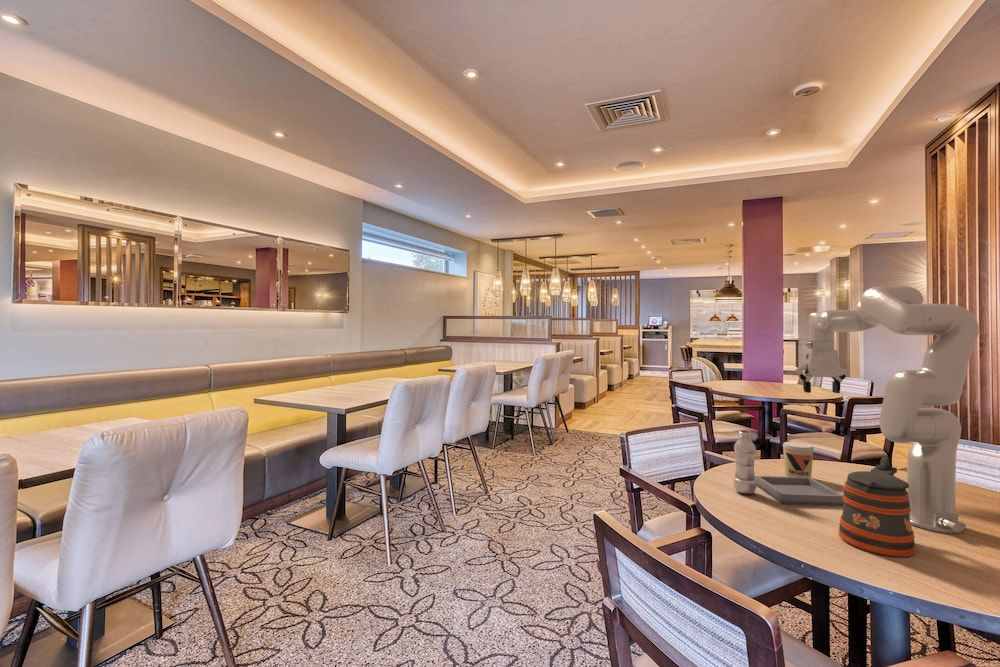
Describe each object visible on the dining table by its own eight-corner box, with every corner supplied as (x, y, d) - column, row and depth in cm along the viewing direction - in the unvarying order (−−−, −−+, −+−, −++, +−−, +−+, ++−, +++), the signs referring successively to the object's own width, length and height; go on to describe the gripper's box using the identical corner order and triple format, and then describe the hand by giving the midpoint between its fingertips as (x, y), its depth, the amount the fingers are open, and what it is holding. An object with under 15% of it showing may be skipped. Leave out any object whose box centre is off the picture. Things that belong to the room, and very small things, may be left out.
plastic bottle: (736, 495, 144) (736, 433, 144) (731, 488, 151) (731, 428, 151) (758, 497, 142) (758, 434, 142) (753, 490, 149) (753, 430, 149)
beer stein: (847, 520, 125) (847, 449, 125) (919, 538, 114) (919, 459, 114) (833, 542, 112) (833, 462, 112) (912, 564, 101) (913, 476, 101)
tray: (845, 506, 135) (845, 496, 135) (782, 504, 137) (782, 494, 137) (809, 486, 153) (809, 477, 153) (754, 484, 155) (754, 475, 155)
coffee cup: (783, 479, 160) (783, 445, 160) (781, 472, 168) (781, 440, 168) (815, 483, 156) (815, 449, 156) (811, 476, 164) (811, 443, 164)
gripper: (801, 345, 162) (801, 393, 162) (853, 346, 160) (854, 394, 159) (790, 345, 169) (791, 391, 169) (840, 345, 167) (840, 391, 167)
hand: (821, 392), depth 164 cm, fingers open, 9 cm apart
